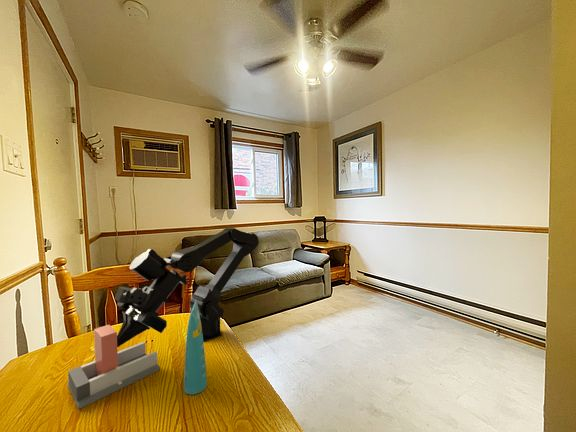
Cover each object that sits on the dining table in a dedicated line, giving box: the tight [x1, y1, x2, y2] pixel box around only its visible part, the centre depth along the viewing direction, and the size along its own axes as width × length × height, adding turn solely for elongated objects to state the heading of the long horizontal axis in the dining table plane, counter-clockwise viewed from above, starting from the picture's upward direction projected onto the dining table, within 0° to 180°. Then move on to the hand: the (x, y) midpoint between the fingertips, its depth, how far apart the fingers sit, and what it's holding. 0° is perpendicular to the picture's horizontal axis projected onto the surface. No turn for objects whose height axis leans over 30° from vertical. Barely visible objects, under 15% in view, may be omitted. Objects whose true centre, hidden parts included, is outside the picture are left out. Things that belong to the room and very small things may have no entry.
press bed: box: [67, 341, 160, 410], centre depth 60 cm, size 16×11×4 cm
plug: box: [93, 324, 118, 376], centre depth 59 cm, size 3×6×11 cm, turn 50°
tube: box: [183, 300, 208, 396], centre depth 56 cm, size 7×5×19 cm, turn 20°
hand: (114, 346), depth 60 cm, fingers closed, pressing on plug
